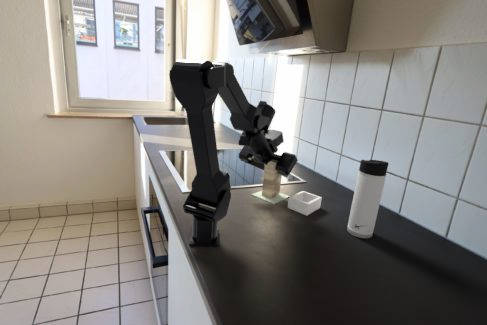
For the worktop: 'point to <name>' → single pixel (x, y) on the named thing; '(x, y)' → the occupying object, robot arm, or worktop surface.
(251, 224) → the worktop surface
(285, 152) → the robot arm
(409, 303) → the worktop surface
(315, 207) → the holder box
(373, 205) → the travel mug
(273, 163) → the tall tan tower
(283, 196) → the mat
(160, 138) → the worktop surface
